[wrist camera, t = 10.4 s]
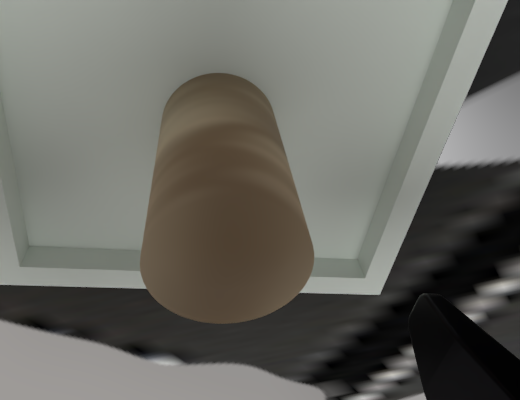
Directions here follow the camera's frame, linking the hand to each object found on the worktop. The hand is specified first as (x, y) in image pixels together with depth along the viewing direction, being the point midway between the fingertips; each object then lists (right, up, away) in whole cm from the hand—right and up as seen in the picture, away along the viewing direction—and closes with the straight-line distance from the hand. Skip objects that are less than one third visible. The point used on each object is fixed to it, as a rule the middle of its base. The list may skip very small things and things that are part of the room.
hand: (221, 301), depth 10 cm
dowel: (-1, +5, +6) cm, 8 cm away
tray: (-1, +5, +7) cm, 9 cm away
